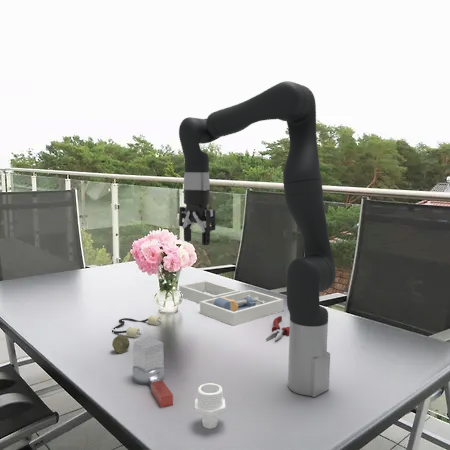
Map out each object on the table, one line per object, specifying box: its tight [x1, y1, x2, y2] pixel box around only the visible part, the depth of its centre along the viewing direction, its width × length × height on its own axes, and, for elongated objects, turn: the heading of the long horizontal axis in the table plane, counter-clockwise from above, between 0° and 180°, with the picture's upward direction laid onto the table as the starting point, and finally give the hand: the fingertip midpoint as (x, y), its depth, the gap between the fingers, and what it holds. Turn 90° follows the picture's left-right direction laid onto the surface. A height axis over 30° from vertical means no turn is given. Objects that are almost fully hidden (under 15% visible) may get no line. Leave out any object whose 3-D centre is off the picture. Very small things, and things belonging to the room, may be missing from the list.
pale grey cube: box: [133, 336, 165, 373], centre depth 117 cm, size 6×6×6 cm
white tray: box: [199, 289, 285, 327], centre depth 173 cm, size 18×26×4 cm
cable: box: [111, 315, 163, 339], centre depth 154 cm, size 16×16×4 cm
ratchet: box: [132, 365, 174, 408], centre depth 112 cm, size 20×8×6 cm, turn 25°
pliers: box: [265, 315, 290, 342], centre depth 152 cm, size 12×21×3 cm, turn 151°
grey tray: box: [178, 280, 241, 304], centre depth 190 cm, size 22×14×4 cm, turn 42°
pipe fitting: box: [194, 382, 226, 430], centre depth 96 cm, size 6×7×8 cm
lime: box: [111, 334, 130, 354], centre depth 134 cm, size 4×5×5 cm
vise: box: [214, 295, 265, 312], centre depth 171 cm, size 18×10×7 cm, turn 125°
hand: (196, 243), depth 134 cm, fingers open, 8 cm apart
